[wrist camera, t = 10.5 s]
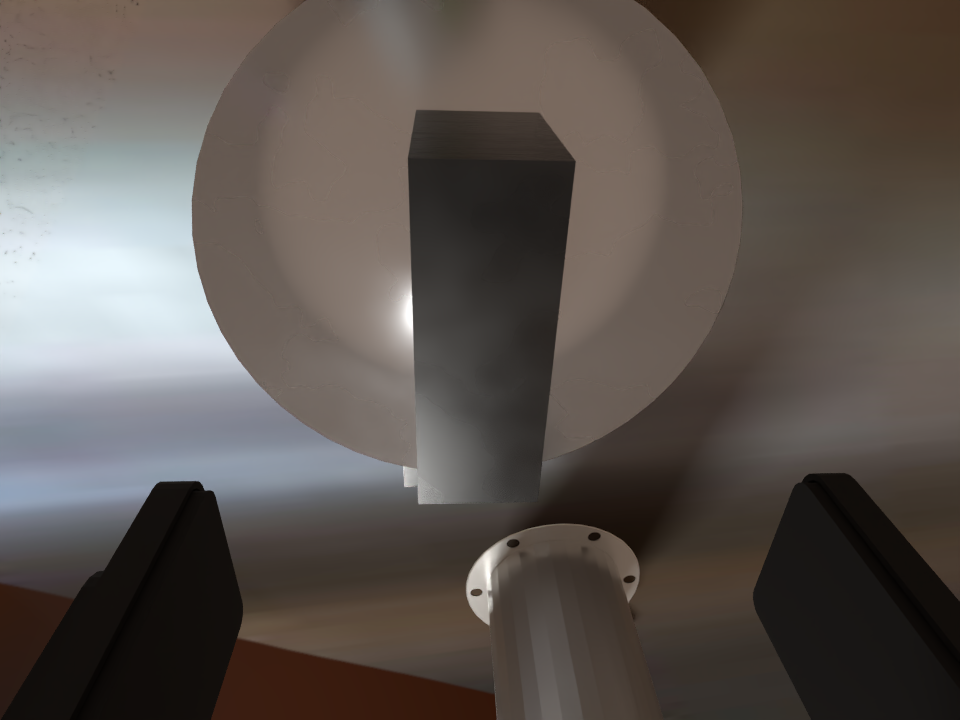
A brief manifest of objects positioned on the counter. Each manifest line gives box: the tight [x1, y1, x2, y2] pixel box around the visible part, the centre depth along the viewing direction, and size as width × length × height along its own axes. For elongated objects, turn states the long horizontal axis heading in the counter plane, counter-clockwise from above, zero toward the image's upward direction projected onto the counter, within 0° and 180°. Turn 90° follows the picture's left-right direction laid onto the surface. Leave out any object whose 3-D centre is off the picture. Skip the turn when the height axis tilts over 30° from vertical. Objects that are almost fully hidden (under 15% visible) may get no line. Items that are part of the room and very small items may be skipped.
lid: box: [192, 0, 743, 504], centre depth 17 cm, size 16×16×6 cm
